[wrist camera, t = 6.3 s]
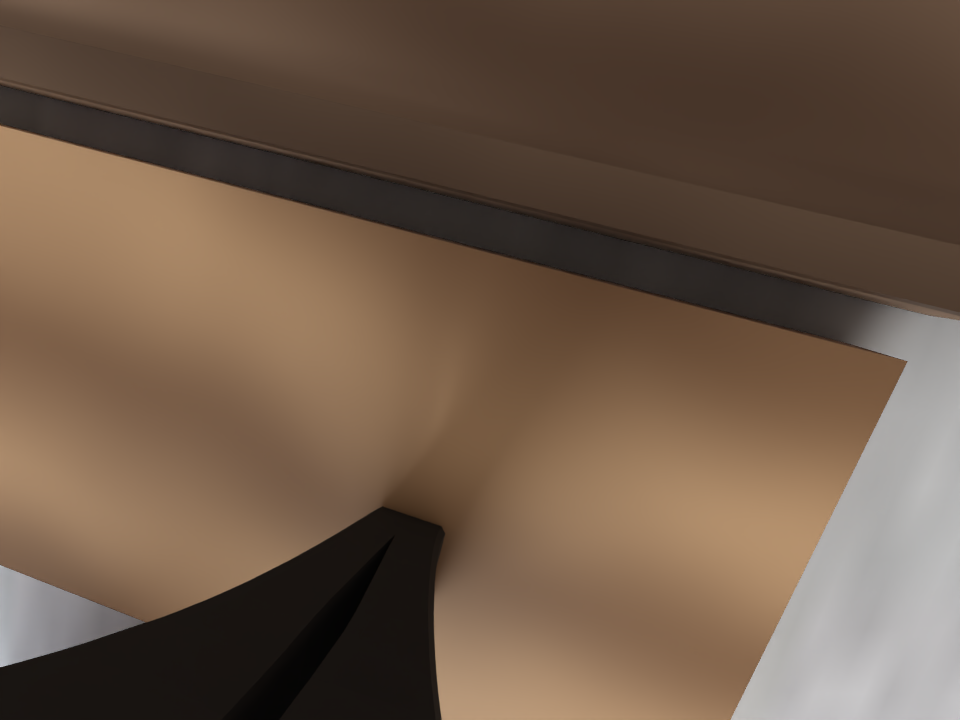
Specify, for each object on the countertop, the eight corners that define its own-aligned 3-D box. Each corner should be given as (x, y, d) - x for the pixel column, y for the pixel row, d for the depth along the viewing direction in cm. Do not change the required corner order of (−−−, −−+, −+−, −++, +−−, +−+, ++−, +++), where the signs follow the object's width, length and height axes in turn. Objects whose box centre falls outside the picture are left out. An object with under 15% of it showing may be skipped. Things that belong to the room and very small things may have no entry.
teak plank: (661, 753, 11) (675, 829, 9) (-217, 425, 14) (-307, 444, 13) (849, 343, 8) (907, 361, 7) (-267, 54, 12) (-386, 25, 10)
